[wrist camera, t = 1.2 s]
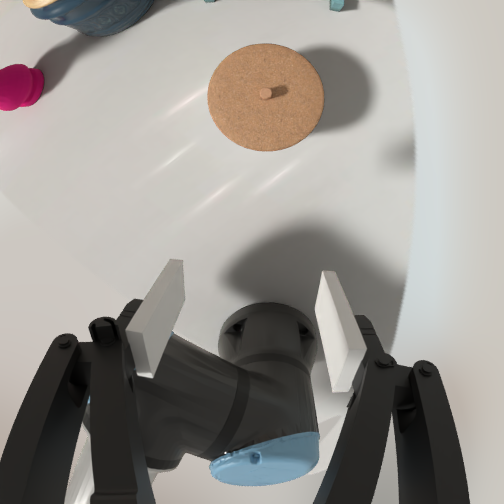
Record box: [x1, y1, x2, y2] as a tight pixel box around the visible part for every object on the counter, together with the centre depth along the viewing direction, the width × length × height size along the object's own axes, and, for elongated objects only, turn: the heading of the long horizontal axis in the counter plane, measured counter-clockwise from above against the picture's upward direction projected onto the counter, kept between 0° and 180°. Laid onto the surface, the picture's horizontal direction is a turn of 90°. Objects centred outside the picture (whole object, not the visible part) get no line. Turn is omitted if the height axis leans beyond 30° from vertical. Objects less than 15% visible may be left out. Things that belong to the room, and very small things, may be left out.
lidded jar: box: [207, 44, 324, 151], centre depth 26 cm, size 11×11×9 cm
